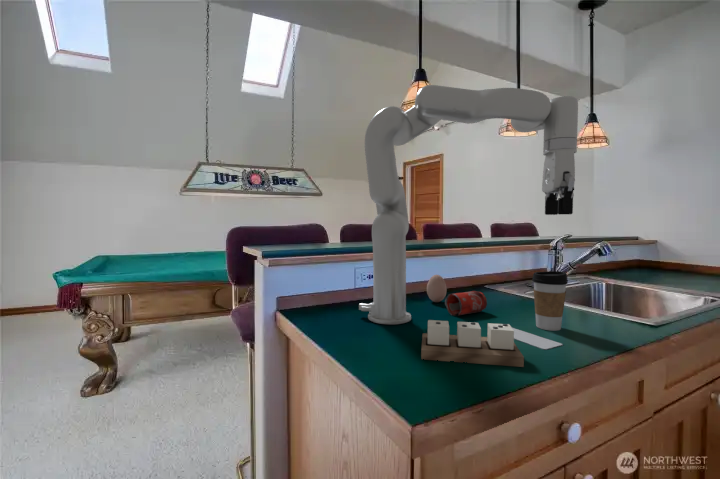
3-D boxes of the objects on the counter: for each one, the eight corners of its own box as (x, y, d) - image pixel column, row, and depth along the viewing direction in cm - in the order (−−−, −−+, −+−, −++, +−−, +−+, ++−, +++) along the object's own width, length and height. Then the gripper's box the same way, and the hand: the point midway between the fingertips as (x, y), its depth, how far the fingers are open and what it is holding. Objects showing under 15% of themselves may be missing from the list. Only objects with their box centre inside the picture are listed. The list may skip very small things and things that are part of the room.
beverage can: (489, 313, 110) (490, 292, 109) (459, 318, 104) (460, 296, 104) (473, 308, 116) (473, 288, 116) (444, 312, 111) (444, 291, 110)
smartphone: (510, 326, 95) (564, 344, 82) (510, 328, 95) (564, 346, 82) (492, 330, 92) (545, 349, 79) (491, 332, 92) (545, 352, 79)
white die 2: (458, 346, 76) (458, 326, 75) (457, 339, 80) (457, 320, 80) (480, 347, 75) (481, 327, 74) (477, 340, 79) (478, 321, 79)
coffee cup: (571, 333, 90) (573, 275, 90) (535, 331, 92) (537, 274, 91) (559, 323, 99) (561, 270, 98) (527, 321, 100) (528, 269, 99)
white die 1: (427, 344, 77) (427, 324, 77) (427, 337, 81) (428, 319, 81) (448, 345, 76) (449, 326, 76) (448, 338, 80) (448, 320, 80)
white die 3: (490, 348, 74) (491, 328, 74) (487, 340, 79) (487, 322, 78) (513, 349, 73) (513, 329, 73) (508, 342, 78) (509, 323, 78)
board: (421, 359, 74) (421, 349, 74) (422, 341, 85) (422, 333, 85) (523, 367, 70) (523, 357, 70) (511, 347, 81) (511, 338, 81)
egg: (443, 305, 120) (443, 276, 119) (423, 302, 123) (424, 275, 123) (448, 301, 126) (449, 274, 125) (430, 299, 129) (430, 272, 128)
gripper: (534, 154, 100) (532, 214, 101) (555, 141, 83) (553, 214, 84) (563, 153, 99) (561, 214, 100) (591, 140, 82) (588, 214, 83)
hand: (557, 214), depth 92 cm, fingers open, 9 cm apart
